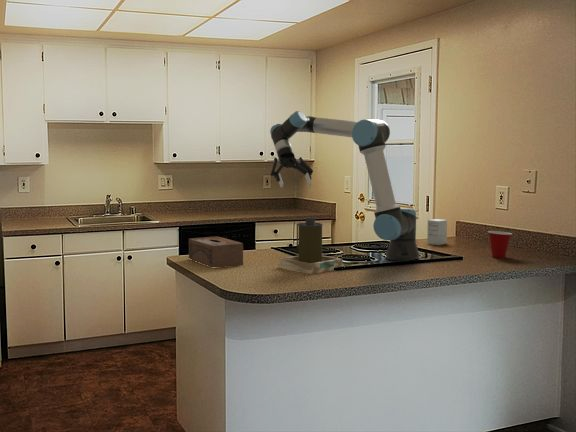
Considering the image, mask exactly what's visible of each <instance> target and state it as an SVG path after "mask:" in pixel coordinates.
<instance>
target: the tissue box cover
mask: <svg viewBox="0 0 576 432" xmlns="http://www.w3.org/2000/svg"><path fill="white" fill-rule="evenodd" d="M189 258H190V259H192V260H194V261H197V262H200V263H202V264H205V265H208V266H210V267H224V268H226V267H225V266H234V267H238V266H237V265H243V266H244V243H243V242H240V241H237V240H233V239H229V238H225V237H221V236H218V235H216V236H215V235H214V236H206V237H194V238H193V237H192V238H188V259H189ZM194 261H193V262H194ZM202 264H201V265H202ZM210 267H209V268H210Z"/></svg>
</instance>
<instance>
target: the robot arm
mask: <svg viewBox="0 0 576 432" xmlns="http://www.w3.org/2000/svg"><path fill="white" fill-rule="evenodd" d="M269 131H270V132H269V133H270V137H271V140H272V143H273V146H274V149H275V152H276V155H277V157H278V158H277V157H274V158H273V160H272V164H273V165H272V168H271V172H270V176H271V177H273V178H274V179H275V180H276V182H278V184H279V187H280V189H283V187H284V181H283V178H282V175H281V172H282V171H283V169H284V168H286V169H287V168H288V169H289V168H290V169H291V168H292V169H294V170H295V169H296V170H297V171H298V172H300V173H301V174H303V175H305V176H304V177H305V181H306V183H307V187H308V188H311V187H312V184H313V182H312V175H313V173H314V170H313V169H312V168H311V167H310V165H308V163H306V162H305V161H304V160H303V158H302V157H299V158H296V157H295V153H294V150H293V146H292V143H291V141H290V139H291V138H292V137H293V136H295V135H296V134H297V133H312V134H321V135H329V136H336V137H337V136H338V137H346V138H351V139H352V141H353V142H354V144H356V145H357V146H358V149H359V153H360V154H361V155H363V156H364V161H365V164H366V169H367V173H368V176H369V177H368V178H369V182H370V185H371V190H372V194H373V198H374V203H375V207H376V208H375V210H374V212H373V213H374V217H375V219H374V221H373V225H372V226H373V232H374V233H375V235H376V236H377V237H378V238H379V239H381V240H383V241H389V243H388V247H387V249H386V252H385V259H386V258H387V260H389V259H390V260H389V261H395V260H414V261H416V260H415V259H418V260H420V253H419V248H418V245H417V242H416V239H417V237H416V235H417V212H416V210H415V209H411V208H401V206H400V205H399V204H397V202H396V200H395V199H396V198H395V195H394V190H393V186H392V181H391V178H390V174H389V170H388V166H387V161H386V158H385V153H384V150H385V149H386V146H387V145H386V142H387V141H388V140H389V139H390V135H391V131H390V127H389V125H388V123H387V122H385V121H384V120H381V119H372V118H365V119H361V120H359V121H355V120H354V121H353V120H343V119H336V118H327V117H326V118H325V117H315V116H312V115H308V116H307V115H305V114H304V113H303V112H301V111H298V110H296V111H295V112H293V113H291V114H290V115H289V117H288V118H287V119H286V120H285V121H284V122H282V123H276V124H275V125H272V126H271V128H270V129H269ZM278 164H280V166H279V167H278V168H277V170H276V167H277V165H278Z"/></svg>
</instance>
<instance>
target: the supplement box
mask: <svg viewBox="0 0 576 432" xmlns="http://www.w3.org/2000/svg"><path fill="white" fill-rule="evenodd" d="M426 238H427V244H428V245H435V246H442V245H446V244H448V243H447V242H448V220H447V219H442V218H441V219H440V218H434V219H433V218H432V219H428V220H427V237H426Z"/></svg>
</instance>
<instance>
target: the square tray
mask: <svg viewBox="0 0 576 432" xmlns="http://www.w3.org/2000/svg"><path fill="white" fill-rule="evenodd" d="M343 262H344V261H343V258H339V257H333V256H327V255H323V254H322V262H316V263H306V262H300V261H299V255H294V256H287V257H281V258H279V264H277V269H281V268H282V270H286V269H287V271H292V272H296V271H297V272H296V273H301V272H302V274H306V273H307V275H315V274H320V273H324V272H325V273H326V272H331V271H332V272H333V271H335V270H334V268H335V267H341V266H344V267H345V264H343Z"/></svg>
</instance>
